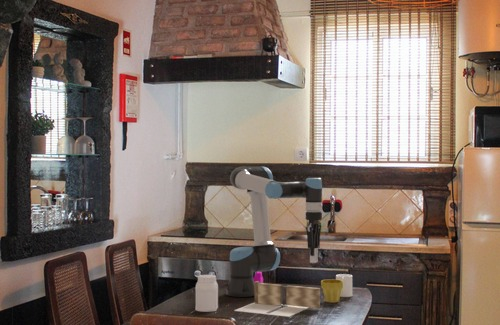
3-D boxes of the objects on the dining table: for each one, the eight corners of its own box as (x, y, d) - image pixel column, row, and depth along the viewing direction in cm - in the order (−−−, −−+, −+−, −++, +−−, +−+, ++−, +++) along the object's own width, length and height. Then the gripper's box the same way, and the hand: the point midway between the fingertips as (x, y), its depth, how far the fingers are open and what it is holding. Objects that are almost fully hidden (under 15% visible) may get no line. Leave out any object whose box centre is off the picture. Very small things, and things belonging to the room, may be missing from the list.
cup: (334, 298, 347) (334, 277, 347) (336, 293, 359) (336, 273, 359) (350, 298, 346) (350, 278, 346) (353, 294, 357) (353, 274, 357)
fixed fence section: (253, 303, 333) (253, 281, 333) (255, 302, 335) (255, 281, 335) (280, 305, 326) (280, 284, 326) (282, 305, 328) (282, 283, 328)
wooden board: (281, 304, 326) (281, 285, 326) (283, 303, 328) (283, 284, 328) (319, 308, 318) (319, 288, 318) (320, 307, 319) (320, 288, 319)
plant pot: (321, 303, 334) (321, 282, 334) (320, 299, 345) (320, 279, 344) (343, 303, 334) (343, 282, 334) (341, 299, 344) (341, 279, 344)
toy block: (263, 285, 385) (263, 271, 385) (260, 287, 379) (260, 273, 379) (236, 284, 388) (236, 270, 388) (233, 286, 382) (233, 272, 382)
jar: (215, 311, 315) (215, 278, 315) (194, 311, 316) (194, 278, 316) (218, 306, 327) (218, 274, 327) (198, 306, 327) (198, 273, 327)
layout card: (234, 311, 317) (234, 310, 317) (256, 302, 337) (256, 301, 337) (289, 317, 305) (289, 316, 305) (308, 307, 324) (308, 306, 324)
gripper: (315, 212, 319) (315, 264, 319) (327, 210, 331) (327, 261, 331) (300, 212, 322) (300, 263, 322) (312, 210, 335) (312, 259, 335)
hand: (313, 262), depth 327 cm, fingers closed
